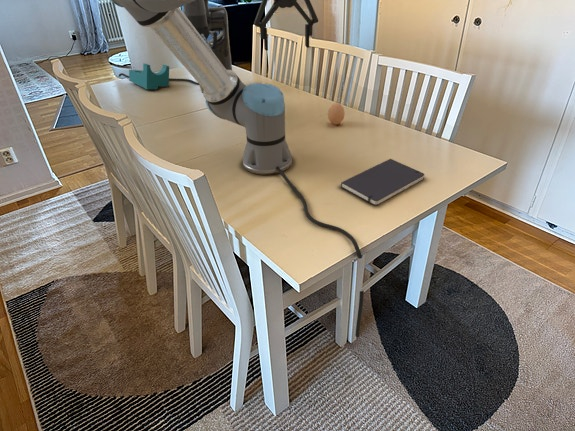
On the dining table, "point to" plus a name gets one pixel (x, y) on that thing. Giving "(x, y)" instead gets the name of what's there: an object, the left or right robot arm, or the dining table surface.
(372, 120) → the dining table surface
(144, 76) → the teal notched block
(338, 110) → the egg
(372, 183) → the notebook
